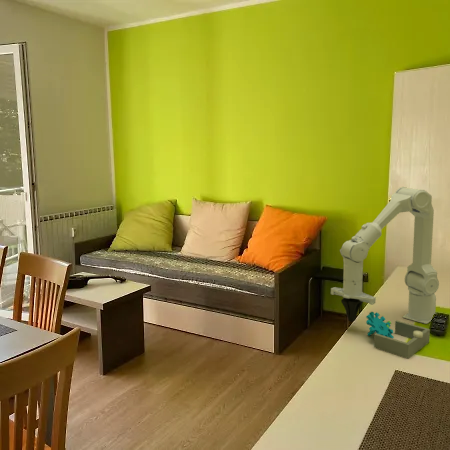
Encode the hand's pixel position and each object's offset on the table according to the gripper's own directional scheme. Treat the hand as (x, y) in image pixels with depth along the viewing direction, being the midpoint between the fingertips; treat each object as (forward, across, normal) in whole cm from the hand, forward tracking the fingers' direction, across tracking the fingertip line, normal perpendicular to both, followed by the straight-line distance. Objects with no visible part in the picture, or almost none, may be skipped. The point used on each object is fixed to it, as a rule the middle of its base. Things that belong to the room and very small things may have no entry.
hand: (351, 320), depth 143 cm
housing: (+3, +16, 0) cm, 17 cm away
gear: (+3, +10, 0) cm, 10 cm away
